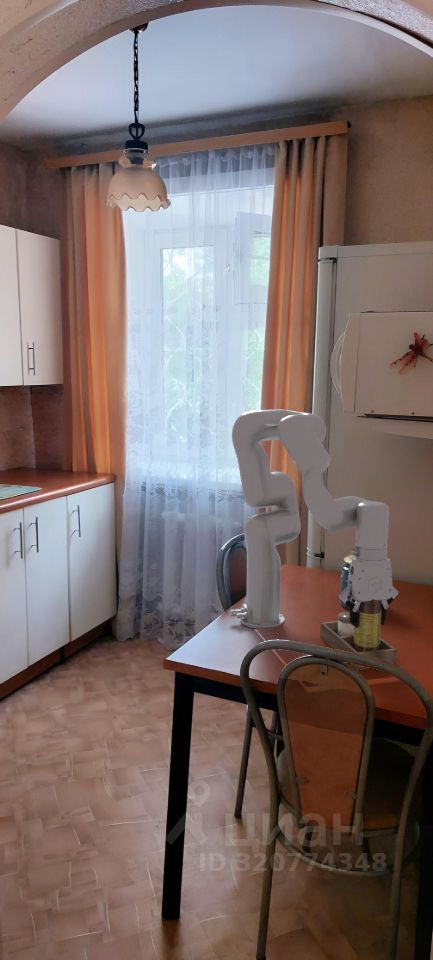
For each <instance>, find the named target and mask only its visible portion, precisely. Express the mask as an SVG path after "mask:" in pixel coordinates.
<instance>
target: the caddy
mask: <svg viewBox="0 0 433 960" xmlns="http://www.w3.org/2000/svg"><path fill="white" fill-rule="evenodd" d="M319 635H320V639H321V640H323V641H324V642H325V643H326V644H327V645H328V646H329V647H330V648H335V649H340V650H344V651H349V652H353V653H358V654H363V655H367V656H371V657H375V658H379V659H382V660H386V661H388V662H391V663H393V664H395V665H396V666H397V654H398V649H397V648H396V647H394V646H393V645H391V644H390V643H389V642H388V641H386V640H385V639H384V638H382V637H381V636H380V644H379V650H376V651H367V652H361V651H359V650H357V649H356V648H355V646H354V635H351V636H341V637H340V636H339V635H338V620H334V621H326V622H320V634H319ZM350 666H351V667H352V666H353V667H354V668H355V669H356V670H355V669H354V668H353V667H352V668H353V669H354V670H355V671H360V670H361V671H363V670H371V669H370V668H366V667H362V666H359V665H355V664H352V665H350Z"/></svg>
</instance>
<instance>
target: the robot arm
mask: <svg viewBox="0 0 433 960" xmlns="http://www.w3.org/2000/svg"><path fill="white" fill-rule="evenodd" d="M326 436H327V426H326V424H325V422H324V420H323V419H322V418H321V417H320V416H319V415H316V414H315V413H309V412H301V411H298V410H297V411H296V410H292V409H291V410H290V409H257V410H250V411H245V412H244V413H242V414H241V415H240V416H238V417H237V419H235V421H234V424H233V426H232V431H231V440H232V444H233V448H234V452H235V455H236V458H237V463H238V468H239V470H238V471H239V475H240V476H239V477H240V482H241V487H242V488H241V489H242V492H243V493H242V494H243V499H244V501H245V504H246V505H247V506H248V507H249V508H252V509H261V508H262V509H263V508H268V507H271V510H270V511H264V512H260V513H257V514H254V515H252V516H250V517H249V518H248V519H247V520H246V521H245V524H244V527H243V535H244V541H245V546H246V594H245V595H246V601H245V604H244V603H243V604H242V607H240V608H239V609H237V608H236V609H230V610H229V613H228V614H229V616H230V617H231V618H232V617H236V619H240V623H241V624H242V625H244V626H245V627H248V628H250V629H255V630H257V628H259V629H261V628H263V629H266V628H275V627H279V626H282V625H283V624H285V619H286V618H285V616H283V614H281V613H280V610H281V609H280V607H281V605H280V603H281V576H282V575H281V574H282V572H281V571H282V569H281V568H282V561H281V557H280V554H279V551H278V550H277V545H280V544H285V543H289V542H292V541H294V540H295V539H297V538H298V536H299V534H300V533H301V529H302V527H301V526H302V524H301V516H300V514H301V513H300V510H299V504H298V503H299V502H298V499H297V498H298V497H297V492H296V487H295V484H294V482H293V479H291V477H290V476H289V475H288V474H287V473H285V472H282V471H271V467H270V462H269V460H270V459H269V456H268V454H267V452H266V450H265V449H264V448H263V446H262V445H261V444H260V443H262V442H265V441H278V440H279V442H280V443H281V444H282V446H283V448H284V449H285V452H287V453H288V455H289V457H290V458H291V460H292V462H293V463H294V464H295V466H296V468H297V469H298V471H299V473H300V474H301V476H302V477H301V491H302V497H303V501H304V503H305V505H306V507H307V509H308V511H309V512H310V513H311V515H312V516H313V518H314V520H315V521H316V523H317V524H319V526H320V527H322V528H323V529H325V530H327V531H332V532H334V531H340V530H344V529H346V528H347V529H348V528H353V527H355V543H354V544H355V545H354V548H353V549H350V551H349V555H350V554H351V555H354V556H355V557H353V558H352V561H351V565H350V570H349V576H348V586H347V587H346V588H345V589H344V590H343V591H342V592H341V593H340V592H339V594H338V599H339V598H340V599H341V600H342V601H343V602H344V603H345V604H346V605H347V606H348V608H350V609H349V612H350V619H349V620H350V623H351V624H352V625H353V626H354V627H356V628H358V627H359V614H360V613H359V612H358V608H359V606H360V603H361V602H368V601H371V600H373V599H374V600H380V601H381V626H384V625H385V620H386V617H387V615H386V614H387V609H389V606H390V604H391V603H392V602H393V601H394V599H395V598H396V597H397V596H398V595H399V590H398V589H396V588H395V587H394V586H393V572H392V571H393V570H392V566H391V565H392V563H391V559H390V558H389V557H387V556H388V540H389V521H390V507H389V506H388V504H386V503H384V502H381V501H373V500H372V501H371V500H368V499H365V498H362V497H360V496H356V495H349V496H343V497H342V496H341V497H338V498H333V497H332V496H331V494H330V493H329V491H328V490H327V487H326V486H325V483H324V479H323V473H324V472H325V471H326V469H328V468H329V467H330V464H331V462H332V459H331V458H332V457H331V455H330V454H329V453H328V451H327V450H326V448H325V447H324V445H323V444H322V442H323V441H324V440H325V438H326ZM348 595H349V596H351V600H350V601H349V600H348V599H347V596H348Z"/></svg>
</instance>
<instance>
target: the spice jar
mask: <svg viewBox="0 0 433 960" xmlns="http://www.w3.org/2000/svg"><path fill="white" fill-rule="evenodd" d="M349 619H350V611H343V612H339V613H338V614H337V621H338V635H339V636H340V637H341V636H351V635H354V626H353V625H352V624H351V623H350V620H349Z"/></svg>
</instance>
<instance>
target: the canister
mask: <svg viewBox="0 0 433 960" xmlns="http://www.w3.org/2000/svg"><path fill="white" fill-rule="evenodd" d="M353 557H355V556H354V555H351V554H350V553H349V555H348V556H345V557H344V558H343V561H344V563H342V564H341V565H340V569H341V571H342V572H341V575H340V577H339V578H340V590H339V591H340V592H339V594H340V593H341V592H342V591H343V590H344V589H345V588H346V587H347V586H348V576H349V570H350V565H351V561H352V558H353ZM347 599H348V600H349V601H350V600H351V596H349V595H348V596H347ZM338 600H339V605H341V606H342V607H343V608H345V609H347V610H350V608H348V606H347V605H346V604H345V603H344V602H343V601H342V600H341V599H340V598H339V597H338Z"/></svg>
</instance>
